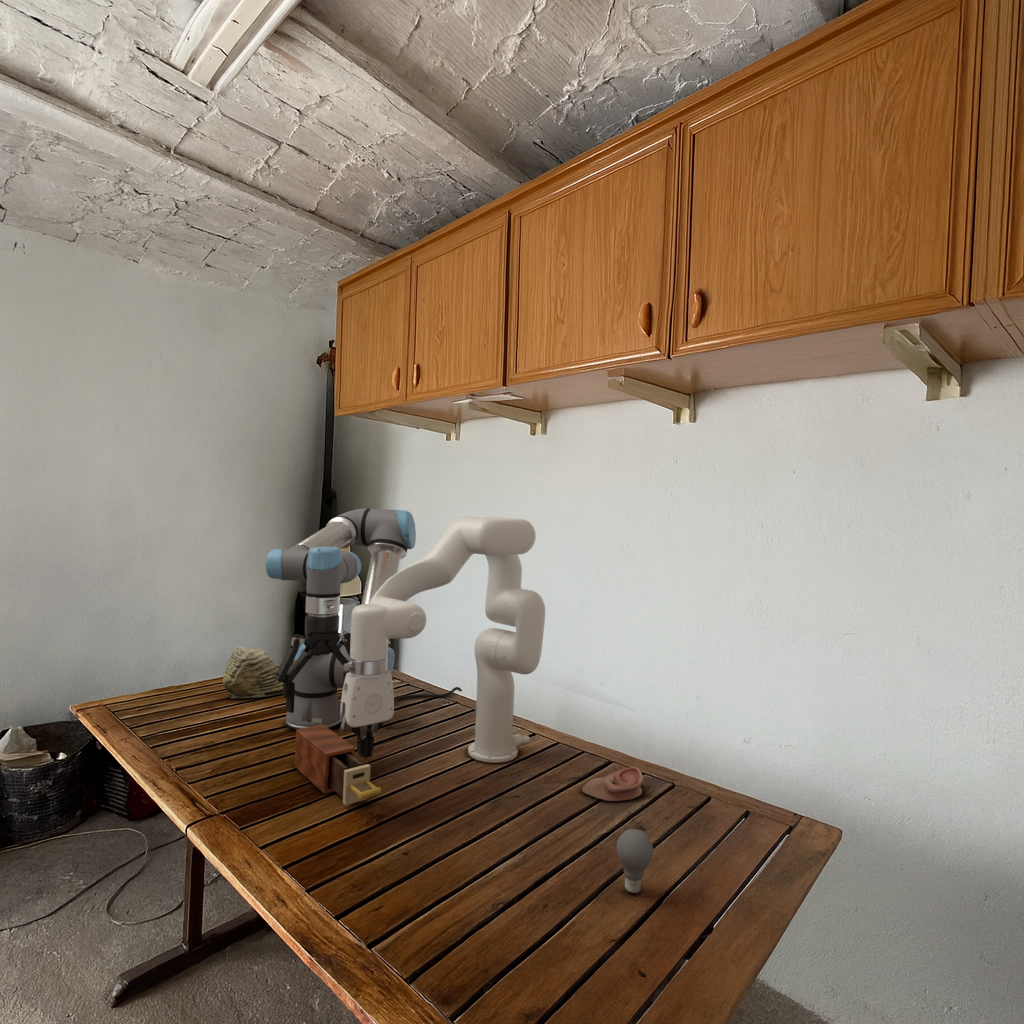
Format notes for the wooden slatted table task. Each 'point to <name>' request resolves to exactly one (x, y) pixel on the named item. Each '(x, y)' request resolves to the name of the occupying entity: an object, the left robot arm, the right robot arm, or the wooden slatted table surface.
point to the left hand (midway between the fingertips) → (319, 705)
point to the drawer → (350, 778)
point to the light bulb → (634, 857)
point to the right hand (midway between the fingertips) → (364, 755)
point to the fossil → (251, 674)
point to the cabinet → (318, 753)
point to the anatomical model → (616, 785)
